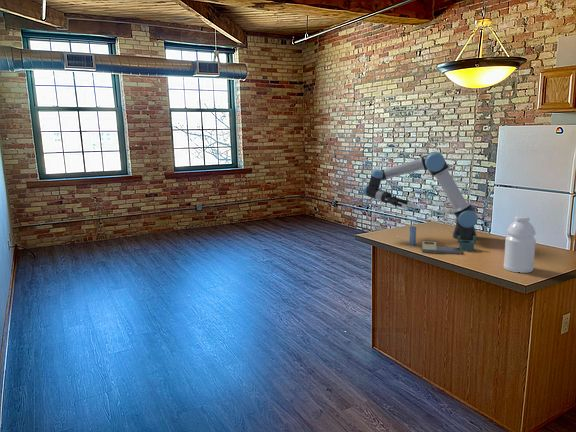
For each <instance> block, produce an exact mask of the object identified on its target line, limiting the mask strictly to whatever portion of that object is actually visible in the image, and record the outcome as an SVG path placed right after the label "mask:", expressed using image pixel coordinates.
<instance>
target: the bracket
mask: <svg viewBox="0 0 576 432" xmlns="http://www.w3.org/2000/svg"><path fill="white" fill-rule="evenodd" d="M456 241H457V243H458V244H459V245H458V246H459V247H458V248H460V249H461V252H462V251H463V252H474V251H475V250H474V249H475V244H476V243H477V238H476V236H473V239H472V240H463V239H460V236H458V239H457V238H456Z"/></svg>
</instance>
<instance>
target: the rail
mask: <svg viewBox="0 0 576 432" xmlns="http://www.w3.org/2000/svg"><path fill="white" fill-rule="evenodd" d="M421 245H422V246H421V251H422V252H421V253H425V254H427V253H428V254H445V255H446V254H448V255H462V251H461V249H460V248H459V247H454V246H453V247H452V246H437V241H425V240H424V241H422V244H421Z"/></svg>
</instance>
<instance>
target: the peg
mask: <svg viewBox="0 0 576 432" xmlns="http://www.w3.org/2000/svg"><path fill="white" fill-rule="evenodd" d="M416 241H417V226H413V225H412V226H411V225H410V226H409V243H408V244H409V246H411V247H412V246H416V245H417V244H416V243H417V242H416Z"/></svg>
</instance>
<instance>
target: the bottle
mask: <svg viewBox="0 0 576 432" xmlns="http://www.w3.org/2000/svg"><path fill="white" fill-rule="evenodd" d="M506 233H507V234H508V235H507V236H506V237H505V243H504V256H503V257H504V259H503V269H505V270H507V271H509V272H512V273H518V272H520V273H522V274H528V273H531V272H533V271H534V268H535V267H534V263H535V262H534V261H535V251H536V242H537V240H536V238H535V237H534V236H535V235H536V229H535V228H534V226H533V225H532V224H531V223H530V217H529V216H525V215H516V216H514V221H513V222H512V223H510V225H509V226H508V227H507V230H506ZM520 273H519V274H520Z"/></svg>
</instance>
